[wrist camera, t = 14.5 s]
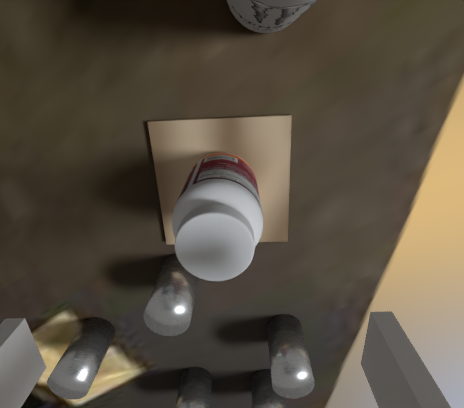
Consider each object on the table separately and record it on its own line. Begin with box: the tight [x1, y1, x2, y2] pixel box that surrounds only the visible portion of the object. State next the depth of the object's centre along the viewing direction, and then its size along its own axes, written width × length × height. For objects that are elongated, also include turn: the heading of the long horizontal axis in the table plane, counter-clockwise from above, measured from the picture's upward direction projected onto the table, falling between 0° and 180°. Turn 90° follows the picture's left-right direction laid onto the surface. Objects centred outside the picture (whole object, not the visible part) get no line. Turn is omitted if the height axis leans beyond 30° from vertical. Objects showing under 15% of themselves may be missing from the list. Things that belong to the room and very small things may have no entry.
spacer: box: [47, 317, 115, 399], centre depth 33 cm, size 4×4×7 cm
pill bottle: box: [172, 152, 263, 281], centre depth 23 cm, size 6×6×11 cm
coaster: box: [148, 114, 292, 244], centre depth 28 cm, size 12×12×1 cm
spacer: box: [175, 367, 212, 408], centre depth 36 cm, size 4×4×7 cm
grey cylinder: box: [251, 369, 286, 408], centre depth 36 cm, size 4×4×7 cm
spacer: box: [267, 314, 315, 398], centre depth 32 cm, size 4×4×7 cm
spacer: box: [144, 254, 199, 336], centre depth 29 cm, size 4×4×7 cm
